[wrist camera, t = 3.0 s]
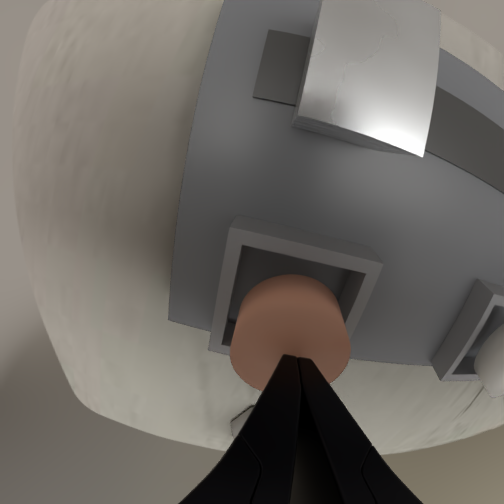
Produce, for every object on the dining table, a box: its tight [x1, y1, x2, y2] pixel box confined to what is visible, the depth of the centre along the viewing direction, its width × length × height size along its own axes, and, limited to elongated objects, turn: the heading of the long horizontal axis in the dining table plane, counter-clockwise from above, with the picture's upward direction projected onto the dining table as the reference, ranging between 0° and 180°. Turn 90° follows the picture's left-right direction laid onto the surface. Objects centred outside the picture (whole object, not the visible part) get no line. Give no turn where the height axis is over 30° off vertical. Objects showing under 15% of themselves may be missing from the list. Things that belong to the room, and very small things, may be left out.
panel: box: [168, 0, 504, 381], centre depth 10 cm, size 22×15×4 cm
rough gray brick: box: [291, 0, 441, 157], centre depth 6 cm, size 3×4×4 cm
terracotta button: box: [230, 274, 351, 391], centre depth 9 cm, size 4×4×2 cm
